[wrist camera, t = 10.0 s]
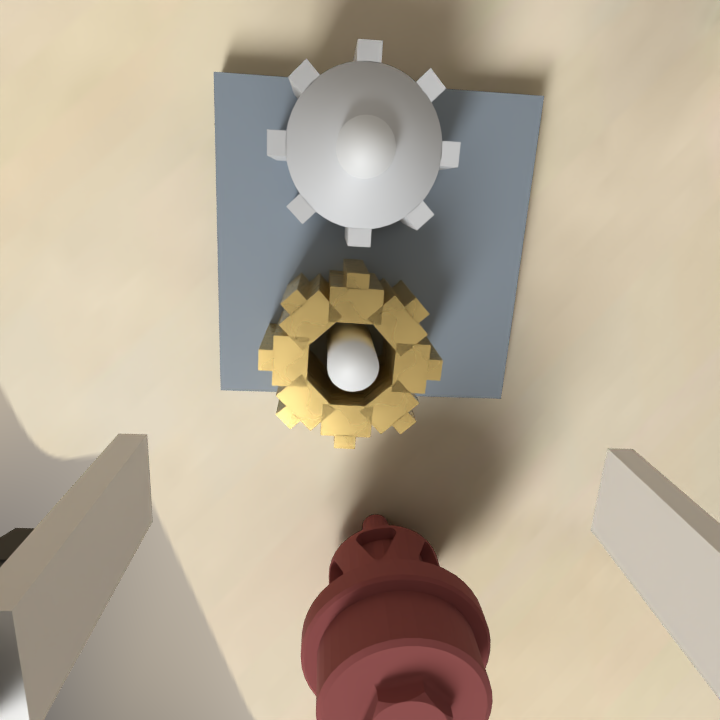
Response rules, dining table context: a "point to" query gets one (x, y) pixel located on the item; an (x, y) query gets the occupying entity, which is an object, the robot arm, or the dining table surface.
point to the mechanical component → (395, 634)
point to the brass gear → (310, 376)
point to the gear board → (419, 258)
